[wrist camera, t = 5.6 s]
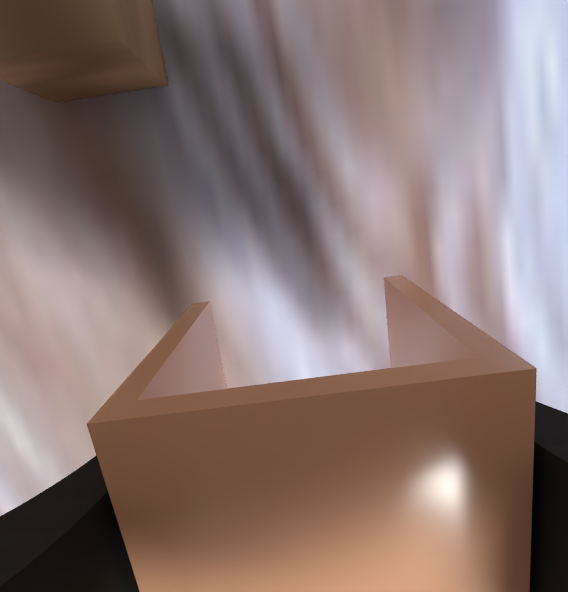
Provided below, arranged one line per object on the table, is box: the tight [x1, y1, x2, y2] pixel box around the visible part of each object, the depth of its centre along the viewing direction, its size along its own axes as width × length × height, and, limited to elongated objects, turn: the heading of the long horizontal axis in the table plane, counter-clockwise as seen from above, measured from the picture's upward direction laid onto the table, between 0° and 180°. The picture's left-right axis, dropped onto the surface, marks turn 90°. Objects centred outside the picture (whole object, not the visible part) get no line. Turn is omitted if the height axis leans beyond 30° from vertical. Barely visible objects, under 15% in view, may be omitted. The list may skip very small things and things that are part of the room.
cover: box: [87, 275, 536, 592], centre depth 9 cm, size 6×6×6 cm
